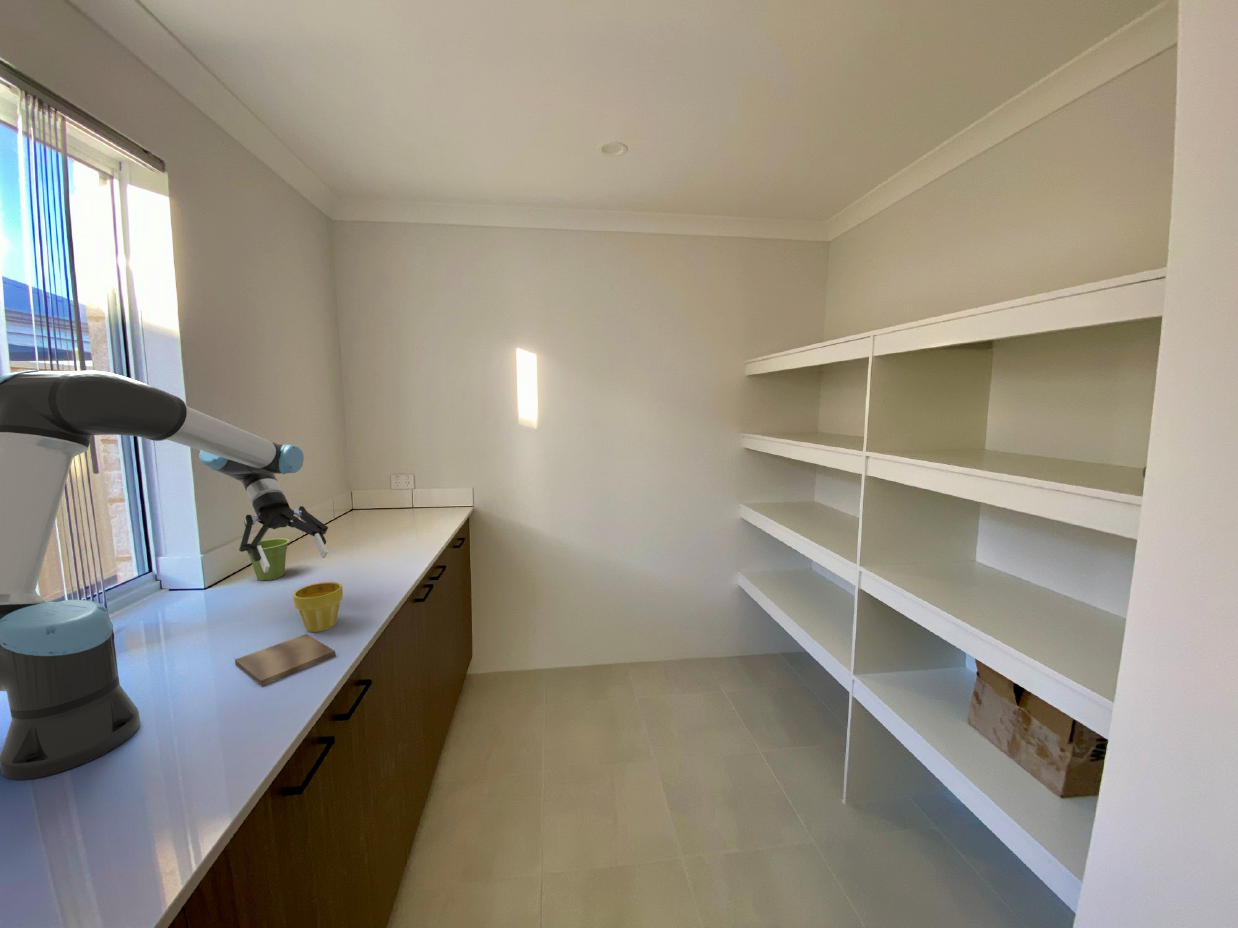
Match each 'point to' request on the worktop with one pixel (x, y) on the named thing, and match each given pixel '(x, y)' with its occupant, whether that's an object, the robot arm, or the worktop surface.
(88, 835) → the worktop surface
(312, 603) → the plant pot
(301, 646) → the walnut board
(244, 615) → the worktop surface
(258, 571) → the plant pot
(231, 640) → the worktop surface
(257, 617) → the worktop surface
